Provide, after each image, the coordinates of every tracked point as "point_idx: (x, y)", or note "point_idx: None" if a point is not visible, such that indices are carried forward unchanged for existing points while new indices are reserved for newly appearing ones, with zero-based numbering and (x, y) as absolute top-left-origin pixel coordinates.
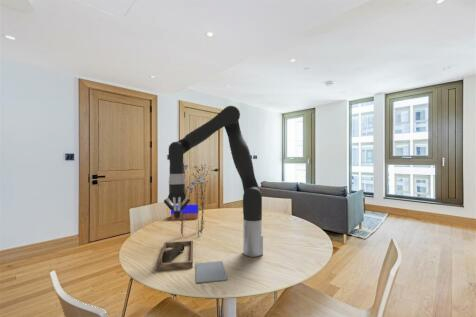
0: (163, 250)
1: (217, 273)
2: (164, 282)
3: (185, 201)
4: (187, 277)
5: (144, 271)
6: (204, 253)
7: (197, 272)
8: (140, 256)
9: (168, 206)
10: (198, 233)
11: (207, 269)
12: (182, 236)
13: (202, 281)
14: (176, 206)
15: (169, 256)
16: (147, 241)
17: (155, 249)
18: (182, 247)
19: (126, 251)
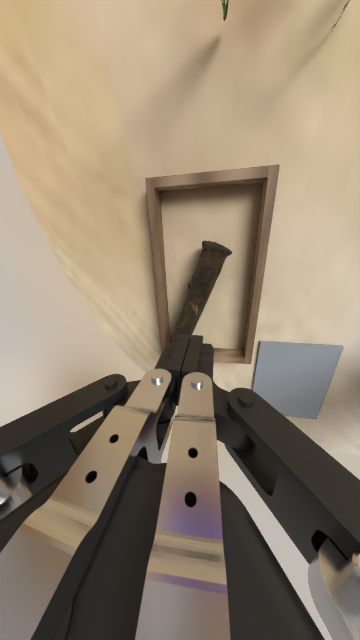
0: (159, 271)
1: (303, 397)
2: None
3: (316, 567)
4: (233, 388)
5: (140, 345)
6: (303, 275)
7: (257, 382)
8: (99, 261)
9: (77, 443)
10: (346, 3)
11: (284, 376)
12: (225, 18)
13: None
14: (159, 410)
15: None
16: (57, 87)
17: (124, 206)
18: (224, 260)
19: (39, 212)
